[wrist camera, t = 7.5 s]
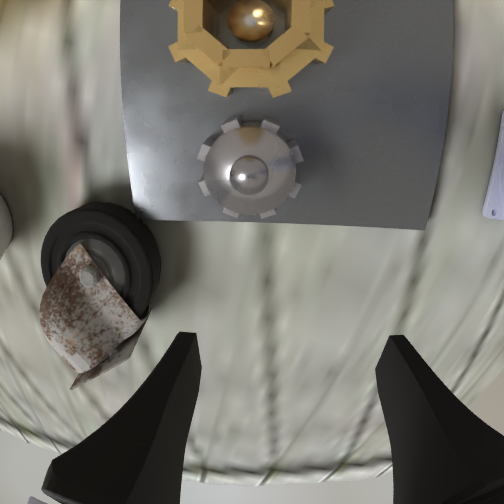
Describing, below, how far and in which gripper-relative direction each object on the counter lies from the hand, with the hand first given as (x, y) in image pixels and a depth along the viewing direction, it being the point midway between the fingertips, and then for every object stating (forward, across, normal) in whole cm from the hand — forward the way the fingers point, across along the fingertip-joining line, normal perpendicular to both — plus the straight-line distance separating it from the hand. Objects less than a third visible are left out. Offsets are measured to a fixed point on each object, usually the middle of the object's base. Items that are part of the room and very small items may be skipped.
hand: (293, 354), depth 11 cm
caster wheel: (+10, +13, +4) cm, 17 cm away
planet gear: (+9, +2, -12) cm, 15 cm away
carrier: (+10, 0, -9) cm, 14 cm away
